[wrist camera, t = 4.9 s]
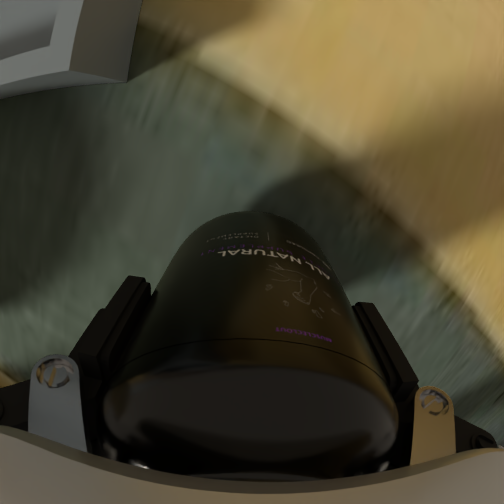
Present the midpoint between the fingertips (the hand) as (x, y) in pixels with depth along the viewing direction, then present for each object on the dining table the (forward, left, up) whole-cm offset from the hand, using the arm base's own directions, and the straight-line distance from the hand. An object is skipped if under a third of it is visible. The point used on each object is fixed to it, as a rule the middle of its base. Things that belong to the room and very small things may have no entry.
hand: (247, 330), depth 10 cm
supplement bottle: (0, 0, -4) cm, 4 cm away
